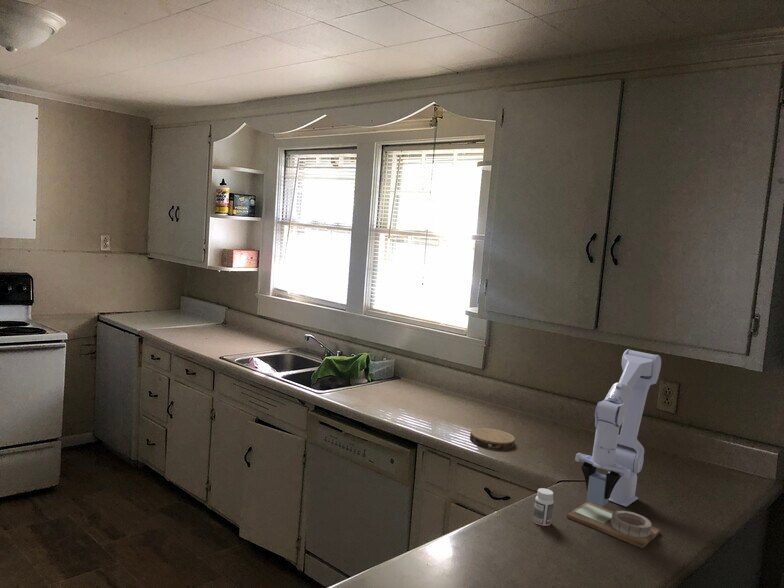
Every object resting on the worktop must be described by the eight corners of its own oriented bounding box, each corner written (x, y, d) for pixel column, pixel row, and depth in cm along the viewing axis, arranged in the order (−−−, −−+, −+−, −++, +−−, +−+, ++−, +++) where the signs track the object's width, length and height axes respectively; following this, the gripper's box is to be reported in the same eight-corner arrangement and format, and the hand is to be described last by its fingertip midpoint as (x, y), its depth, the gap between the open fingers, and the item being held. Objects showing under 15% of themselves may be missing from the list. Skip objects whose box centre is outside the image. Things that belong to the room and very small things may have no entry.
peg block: (592, 496, 167) (596, 472, 166) (608, 502, 164) (611, 477, 163) (585, 500, 163) (589, 475, 163) (601, 506, 160) (605, 481, 160)
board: (587, 505, 172) (588, 493, 172) (659, 533, 159) (661, 520, 159) (566, 517, 162) (568, 504, 162) (642, 548, 149) (644, 534, 149)
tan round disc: (522, 445, 220) (523, 437, 220) (498, 454, 208) (499, 445, 208) (485, 433, 230) (486, 425, 230) (460, 440, 218) (461, 432, 218)
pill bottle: (547, 518, 160) (552, 488, 160) (553, 527, 156) (557, 495, 155) (530, 517, 160) (534, 486, 159) (535, 525, 155) (539, 494, 155)
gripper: (573, 440, 164) (566, 488, 165) (626, 457, 154) (619, 508, 156) (584, 435, 169) (577, 482, 170) (636, 452, 160) (629, 501, 161)
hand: (598, 494), depth 163 cm, fingers closed on peg block, 4 cm apart
